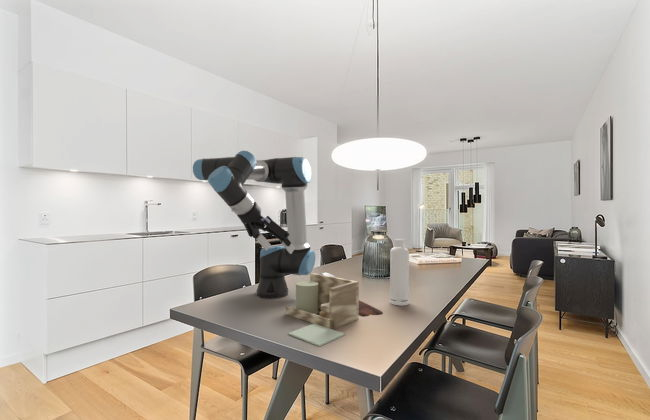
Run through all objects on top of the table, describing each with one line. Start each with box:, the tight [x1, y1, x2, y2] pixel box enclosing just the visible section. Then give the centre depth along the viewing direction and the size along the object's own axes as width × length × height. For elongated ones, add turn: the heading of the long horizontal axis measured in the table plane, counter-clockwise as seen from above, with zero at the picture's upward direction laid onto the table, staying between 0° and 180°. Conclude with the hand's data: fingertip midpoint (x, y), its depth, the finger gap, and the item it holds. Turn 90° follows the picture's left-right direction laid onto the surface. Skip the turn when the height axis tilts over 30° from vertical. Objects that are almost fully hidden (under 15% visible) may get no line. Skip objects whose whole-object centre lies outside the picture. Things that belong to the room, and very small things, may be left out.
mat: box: [288, 323, 345, 347], centre depth 107 cm, size 14×12×1 cm
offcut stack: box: [319, 302, 330, 318], centre depth 120 cm, size 7×10×6 cm
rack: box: [285, 272, 360, 330], centre depth 125 cm, size 24×15×14 cm, turn 48°
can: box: [295, 280, 319, 315], centre depth 130 cm, size 9×9×12 cm
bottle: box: [389, 238, 410, 307], centre depth 143 cm, size 8×8×28 cm
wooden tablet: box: [359, 300, 384, 317], centre depth 139 cm, size 26×2×10 cm
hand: (280, 249), depth 120 cm, fingers open, 13 cm apart
